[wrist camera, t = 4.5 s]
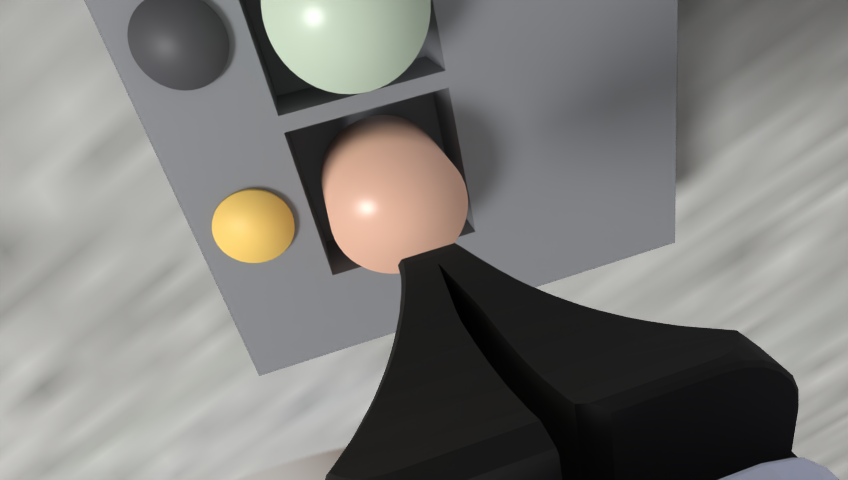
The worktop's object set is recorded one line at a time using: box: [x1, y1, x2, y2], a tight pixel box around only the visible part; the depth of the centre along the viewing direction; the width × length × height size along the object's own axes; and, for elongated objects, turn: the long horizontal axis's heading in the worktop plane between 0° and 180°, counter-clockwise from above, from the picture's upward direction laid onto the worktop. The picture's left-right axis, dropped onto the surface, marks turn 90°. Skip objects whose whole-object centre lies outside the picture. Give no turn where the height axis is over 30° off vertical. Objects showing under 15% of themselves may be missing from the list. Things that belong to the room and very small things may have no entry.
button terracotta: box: [320, 115, 468, 274], centre depth 18 cm, size 4×4×3 cm
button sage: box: [261, 0, 431, 94], centre depth 15 cm, size 4×4×3 cm
